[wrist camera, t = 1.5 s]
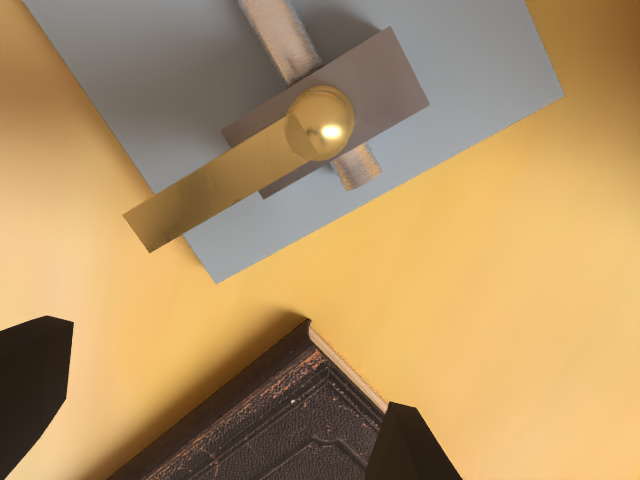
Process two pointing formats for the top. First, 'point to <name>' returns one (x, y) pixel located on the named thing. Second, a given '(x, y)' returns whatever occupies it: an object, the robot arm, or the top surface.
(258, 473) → the hardcover book
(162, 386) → the top surface
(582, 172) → the top surface
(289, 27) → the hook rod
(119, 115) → the board
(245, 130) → the grey block
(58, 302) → the top surface
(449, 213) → the top surface
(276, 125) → the ball knob lever
